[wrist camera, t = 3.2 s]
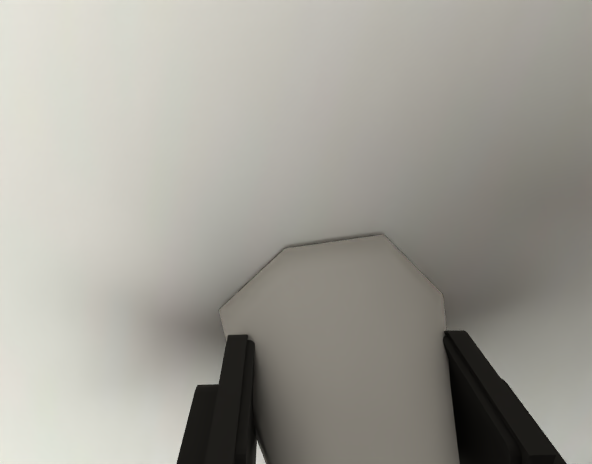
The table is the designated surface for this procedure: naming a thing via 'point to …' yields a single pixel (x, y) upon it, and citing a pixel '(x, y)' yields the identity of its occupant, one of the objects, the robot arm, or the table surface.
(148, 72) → the table surface
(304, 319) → the flask
